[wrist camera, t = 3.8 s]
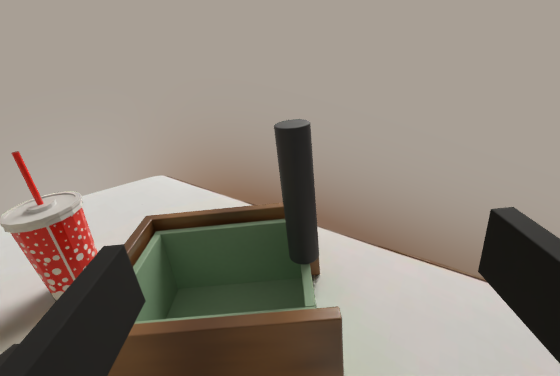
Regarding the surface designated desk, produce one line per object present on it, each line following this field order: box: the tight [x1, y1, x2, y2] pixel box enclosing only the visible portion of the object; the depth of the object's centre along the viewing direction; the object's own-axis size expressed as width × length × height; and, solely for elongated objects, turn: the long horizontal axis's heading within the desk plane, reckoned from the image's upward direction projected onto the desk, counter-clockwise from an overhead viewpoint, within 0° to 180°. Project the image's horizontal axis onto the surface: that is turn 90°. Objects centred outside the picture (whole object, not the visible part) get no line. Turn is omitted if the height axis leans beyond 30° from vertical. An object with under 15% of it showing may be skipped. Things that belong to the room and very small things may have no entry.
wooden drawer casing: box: [108, 203, 344, 376], centre depth 22 cm, size 15×13×8 cm
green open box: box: [133, 119, 319, 324], centre depth 21 cm, size 13×10×16 cm
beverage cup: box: [0, 151, 97, 300], centre depth 28 cm, size 6×6×14 cm
